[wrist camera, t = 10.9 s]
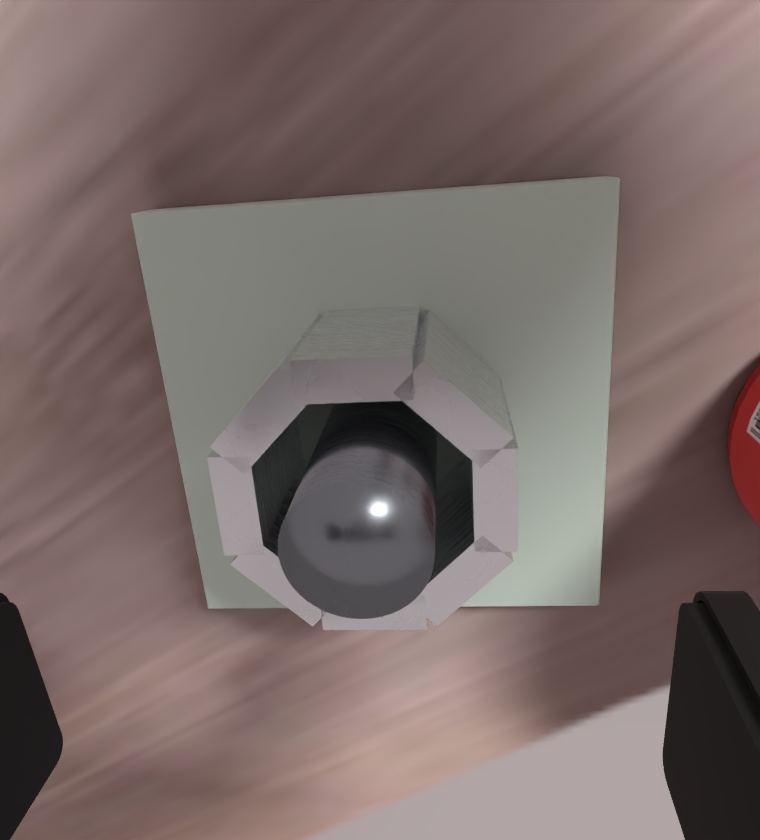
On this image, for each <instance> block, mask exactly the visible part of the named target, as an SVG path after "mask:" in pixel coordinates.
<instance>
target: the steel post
mask: <svg viewBox="0 0 760 840" xmlns="http://www.w3.org/2000/svg"><path fill="white" fill-rule="evenodd" d="M436 469H437V430H436V429H435V428H433V427H432V426H431V425H430V424H429V423H428V422H426V421H425V420H424V419H423V418H422V417H421V416H419V415H418V414H417V413H416V412H415V411H414V410H412V409H411V408H410V407H409V406H408V405H407V404H405V403H404V402H403V401H381V402H354V403H334V405H333V408H332V410H331V412H330V415H329V417H328V419H327V422H326V424H325V426H324V429H323V431H322V433H321V435H320V438H319V440H318V442H317V445H316V447H315V449H314V452H313V454H312V456H311V458H310V461H309V463H308V465H307V468H306V470H305V472H304V475H303V477H302V479H301V482H300V484H299V486H298V488H297V491H296V493H295V495H294V498H293V500H292V502H291V505H290V507H289V509H288V512H287V514H286V516H285V518H284V521H283V523H282V526H281V528H280V532H279V536H278V556H279V561H280V565H281V567H282V570H283V573H284V574H285V576H286V578H287V580H288V581H289V583H290V584H291V586H292V587H293V588H294V589H295V590H296V591H297V593H298V594H299V595H300V596H302V597H303V598H304V599H305V600H306V601H308V602H309V603H311V604H312V605H314V606H315V607H317V608H319V609H321V610H323V611H325V612H328V613H330V614H333V615H337V616H340V617H345V618H352V619H371V618H377V617H382V616H386V615H389V614H392V613H394V612H396V611H399V610H401V609H402V608H404V607H406V606H407V605H409V604H410V603H411V602H412V601H414V600H415V599H416V598H417V597H418V596H419V595H420V594H421V592H422V591H423V590H424V588H425V587H426V585H427V583H428V581H429V579H430V577H431V574H432V571H433V567H434V560H435V515H436Z"/></svg>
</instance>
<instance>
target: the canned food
mask: <svg viewBox="0 0 760 840" xmlns="http://www.w3.org/2000/svg"><path fill="white" fill-rule="evenodd" d="M727 446H728V454H729V462H730V469H731V474H732V480H733V482H734V485H735V488H736V490H737V493H738V496H739V498H740V501H741V502H742V504H743V505H744V507H745V508H746V509H747V511H748V512H749V514H750V515H751V517H752V518H753V519H754V521H755V522H756V523H757V524H758V525H759V527H760V363H759V365H758V366H757V367H756V369H755V370H754V371H753V373H752V374H751V375H750V376H749V378H748V379H747V381H746V383H745V385H744V387H743V389H742V391H741V393H740V395H739V396H738V398H737V400H736V403H735V406H734V410H733V413H732V416H731V420H730V423H729V433H728V444H727Z"/></svg>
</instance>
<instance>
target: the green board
mask: <svg viewBox="0 0 760 840" xmlns="http://www.w3.org/2000/svg"><path fill="white" fill-rule="evenodd" d="M619 196H620V178H618V177H611V176H599V177H586V178H572V179H558V180H545V181H531V182H517V183H504V184H490V185H476V186H463V187H449V188H436V189H422V190H408V191H395V192H381V193H367V194H354V195H340V196H326V197H313V198H299V199H286V200H272V201H258V202H245V203H231V204H217V205H204V206H190V207H176V208H163V209H151V210H146V211H141V212H136V213H131V219H132V224H133V229H134V234H135V239H136V245H137V250H138V255H139V260H140V265H141V270H142V275H143V280H144V285H145V290H146V295H147V300H148V306H149V311H150V316H151V321H152V326H153V331H154V336H155V341H156V346H157V351H158V356H159V361H160V366H161V372H162V377H163V382H164V387H165V392H166V397H167V402H168V407H169V412H170V417H171V422H172V427H173V432H174V438H175V443H176V448H177V453H178V458H179V463H180V468H181V473H182V478H183V483H184V488H185V493H186V498H187V504H188V509H189V514H190V519H191V524H192V529H193V534H194V539H195V544H196V549H197V554H198V559H199V565H200V570H201V575H202V580H203V585H204V590H205V595H206V600H207V605H208V609H225V608H287V607H286V606H284V605H283V604H282V603H281V602H279V601H278V600H277V599H275V598H274V597H273V596H271V595H270V594H269V593H267V592H266V591H265V590H263V589H262V588H261V587H259V586H258V585H257V584H255V583H254V582H253V581H251V580H250V579H249V578H247V577H246V576H245V575H243V574H242V573H241V572H239V571H238V570H237V569H235V568H234V567H233V566H231V565H230V564H231V562H232V560H233V558H234V556H235V555H231V556H224V551H223V546H222V540H221V534H220V529H219V523H218V517H217V512H216V506H215V500H214V495H213V489H212V484H211V478H210V472H209V467H208V461H207V457H208V456H209V454H210V453H211V452H212V450H213V449H211V448H210V446H211V445H212V444H213V442H214V441H215V440H216V439H217V437H218V436H219V435H220V434H221V432H222V431H223V430H224V428H225V427H226V426H227V425H228V423H229V422H230V421H231V420H232V418H233V417H234V416H235V415H236V413H237V412H238V411H239V410H240V408H241V407H242V406H243V404H244V403H245V402H246V401H247V399H248V398H249V397H250V396H251V394H252V393H253V392H254V391H255V389H256V388H257V387H258V386H259V384H260V383H261V382H262V380H263V379H264V378H265V377H266V376H267V375H268V373H269V372H270V371H271V370H272V369H273V367H274V366H275V365H276V364H277V363H278V362H279V360H280V359H281V358H282V357H283V356H284V355H285V353H286V352H287V351H288V350H289V349H290V347H291V346H292V345H293V344H294V343H295V342H296V340H297V339H298V338H299V337H300V336H301V335H302V333H303V332H304V331H305V330H306V329H307V327H308V326H309V325H310V324H311V323H312V322H313V320H314V319H315V318H316V317H317V316H318V315H320V316H321V317H323V315H324V314H325V312H326V311H327V310H341V309H360V308H380V307H399V306H418V305H420V318H421V317H422V316H423V315H424V314H425V313H426V311H427V310H428V309H430V310H431V311H432V312H433V313H434V314H435V315H437V316H438V317H439V318H440V319H441V320H442V321H443V322H444V323H446V324H447V325H448V326H449V327H450V328H451V329H452V330H453V331H454V332H456V333H457V334H458V335H459V336H460V337H461V338H462V339H463V340H464V341H466V342H467V343H468V344H469V345H470V346H471V347H472V348H473V349H475V350H476V351H477V352H478V353H479V354H480V355H481V356H482V357H483V358H485V359H486V360H487V361H488V362H489V363H490V364H491V365H492V366H493V367H495V368H496V369H497V373H498V377H499V378H501V381H502V385H503V389H504V393H505V397H506V401H507V405H508V409H509V413H510V417H511V421H512V425H513V429H514V433H515V437H516V441H517V445H518V552H512V555H513V562H512V563H511V564H510V565H508V566H507V567H506V568H505V569H504V570H503V571H501V572H500V573H499V574H498V575H497V576H496V577H494V578H493V579H492V580H491V581H490V582H489V583H487V584H486V585H485V586H484V587H483V588H482V589H480V590H479V591H478V592H477V593H476V594H475V595H473V596H472V597H471V598H470V599H469V600H468V601H466V602H465V603H464V604H463V605H462V606H461V607H477V606H599V596H600V576H601V556H602V536H603V516H604V496H605V476H606V456H607V436H608V416H609V396H610V376H611V356H612V336H613V316H614V296H615V276H616V256H617V236H618V216H619ZM333 405H334V403H328V404H307V405H306V406H305V407H304V409H303V410H302V411H301V412H300V413H299V414H298V421H299V429H300V437H301V445H302V453H303V459H305V460H306V461H307V462H308V463H309V461H310V458H311V456H312V454H313V452H314V449H315V447H316V445H317V442H318V440H319V438H320V435H321V433H322V431H323V429H324V426H325V424H326V422H327V419H328V417H329V415H330V412H331V410H332V408H333ZM464 456H465V454H464V453H463V452H461V451H460V450H459V449H458V448H457V447H456V446H454V445H453V444H452V443H451V442H450V441H449V440H447V439H446V438H445V437H444V436H443V435H442V434H440V433H439V432H438V431H437V469H436V483H437V482H438V481H439V480H440V479H441V478H442V477H443V476H444V475H445V474H447V473H448V472H449V471H450V470H451V469H452V468H453V467H454V466H455V465H456V464H457V463H458V462H459V461H460V460H461V459H462V458H463V457H464Z"/></svg>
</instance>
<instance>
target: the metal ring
mask: <svg viewBox="0 0 760 840" xmlns="http://www.w3.org/2000/svg"><path fill="white" fill-rule="evenodd" d="M381 401H403V402H404V403H405V404H407V405H408V406H409V407H410V408H411V409H412V410H414V411H415V412H416V413H417V414H418V415H419V416H421V417H422V418H423V419H424V420H425V421H426V422H428V423H429V424H430V425H431V426H432V427H433V428H435V429H436V430H437V431H438V432H439V433H440V434H442V435H443V436H444V437H445V438H446V439H447V440H449V441H450V442H451V443H452V444H453V445H454V446H456V447H457V448H458V449H459V450H460V451H461V452H463V453H464V454H465V456H464V457H463V458H462V459H461V460H460V461H459V462H458V463H457V464H456V465H455V466H454V467H453V468H452V469H451V470H450V471H449V472H448V473H447V474H445V475H444V476H443V477H442V478H441V479H440V480H439V481H438V482H437V483H436V515H435V560H434V567H433V571H432V574H431V577H430V579H429V581H428V583H427V585H426V587H425V588H424V590H423V591H422V592H421V594H420V595H419V596H418V597H417V598H416V599H415V600H414V601H412V602H411V603H410V604H409V605H407V606H406V607H404V608H402V609H401V610H399V611H396V612H394V613H392V614H389V615H386V616H382V617H377V618H371V619H352V618H345V617H340V616H337V615H333V614H330V613H328V612H325V611H323V610H321V609H319V608H317V607H315V606H314V605H312V604H311V603H309V602H308V601H306V600H305V599H304V598H303V597H302V596H300V595H299V594H298V593H297V591H296V590H295V589H294V588H293V587H292V586H291V584H290V583H289V581H288V580H287V578H286V576H285V574H284V573H283V570H282V567H281V565H280V561H279V556H278V536H279V532H280V528H281V526H282V523H283V521H284V518H285V516H286V514H287V512H288V509H289V507H290V505H291V502H292V500H293V498H294V495H295V493H296V491H297V488H298V486H299V484H300V482H301V479H302V477H303V475H304V472H305V470H306V468H307V465H308V462H307V461H306V460H305V459H303V453H302V445H301V437H300V429H299V421H298V414H299V413H300V412H301V411H302V410H303V409H304V407H305V406H306V405H307V404H328V403H354V402H381ZM210 448H211V449H213V450H212V452H211V453H210V454H209V456H208V457H207V461H208V467H209V472H210V478H211V484H212V489H213V495H214V500H215V506H216V512H217V517H218V523H219V529H220V534H221V540H222V546H223V551H224V556H231V555H235V556H234V558H233V560H232V562H231V564H230V565H231V566H233V567H234V568H235V569H237V570H238V571H239V572H241V573H242V574H243V575H245V576H246V577H247V578H249V579H250V580H251V581H253V582H254V583H255V584H257V585H258V586H259V587H261V588H262V589H263V590H265V591H266V592H267V593H269V594H270V595H271V596H273V597H274V598H275V599H277V600H278V601H279V602H281V603H282V604H283V605H284V606H286V607H287V608H288V609H290V610H291V611H292V612H294V613H295V614H296V615H298V616H299V617H300V618H302V619H303V620H304V621H306V622H307V623H308V624H310V625H311V626H312V627H313V626H314V625H315V624H316V623H317V622H318V621H319V620H320V619H321V618H322V626H323V630H427V620H428V619H429V620H430V621H431V622H433V623H434V624H435V625H436V626H438V625H440V624H441V623H442V622H443V621H444V620H445V619H447V618H448V617H449V616H450V615H451V614H452V613H454V612H455V611H456V610H457V609H458V608H459V607H461V606H462V605H463V604H464V603H465V602H466V601H468V600H469V599H470V598H471V597H472V596H473V595H475V594H476V593H477V592H478V591H479V590H480V589H482V588H483V587H484V586H485V585H486V584H487V583H489V582H490V581H491V580H492V579H493V578H494V577H496V576H497V575H498V574H499V573H500V572H501V571H503V570H504V569H505V568H506V567H507V566H508V565H510V564H511V563H512V562H513V555H512V552H518V445H517V441H516V437H515V433H514V429H513V425H512V421H511V417H510V413H509V409H508V405H507V401H506V397H505V393H504V389H503V385H502V381H501V378H499V377H498V373H497V369H496V368H495V367H493V366H492V365H491V364H490V363H489V362H488V361H487V360H486V359H485V358H483V357H482V356H481V355H480V354H479V353H478V352H477V351H476V350H475V349H473V348H472V347H471V346H470V345H469V344H468V343H467V342H466V341H464V340H463V339H462V338H461V337H460V336H459V335H458V334H457V333H456V332H454V331H453V330H452V329H451V328H450V327H449V326H448V325H447V324H446V323H444V322H443V321H442V320H441V319H440V318H439V317H438V316H437V315H435V314H434V313H433V312H432V311H431V310H430V309H428V310H427V311H426V313H425V314H424V315H423V316H422V317H421V318H420V305H418V306H399V307H380V308H360V309H341V310H327V311H326V312H325V314H324V315H323V317H321V316H320V315H318V316H317V317H316V318H315V319H314V320H313V322H312V323H311V324H310V325H309V326H308V327H307V329H306V330H305V331H304V332H303V333H302V335H301V336H300V337H299V338H298V339H297V340H296V342H295V343H294V344H293V345H292V346H291V347H290V349H289V350H288V351H287V352H286V353H285V355H284V356H283V357H282V358H281V359H280V360H279V362H278V363H277V364H276V365H275V366H274V367H273V369H272V370H271V371H270V372H269V373H268V375H267V376H266V377H265V378H264V379H263V380H262V382H261V383H260V384H259V386H258V387H257V388H256V389H255V391H254V392H253V393H252V394H251V396H250V397H249V398H248V399H247V401H246V402H245V403H244V404H243V406H242V407H241V408H240V410H239V411H238V412H237V413H236V415H235V416H234V417H233V418H232V420H231V421H230V422H229V423H228V425H227V426H226V427H225V428H224V430H223V431H222V432H221V434H220V435H219V436H218V437H217V439H216V440H215V441H214V442H213V444H212V445H211V446H210Z"/></svg>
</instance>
